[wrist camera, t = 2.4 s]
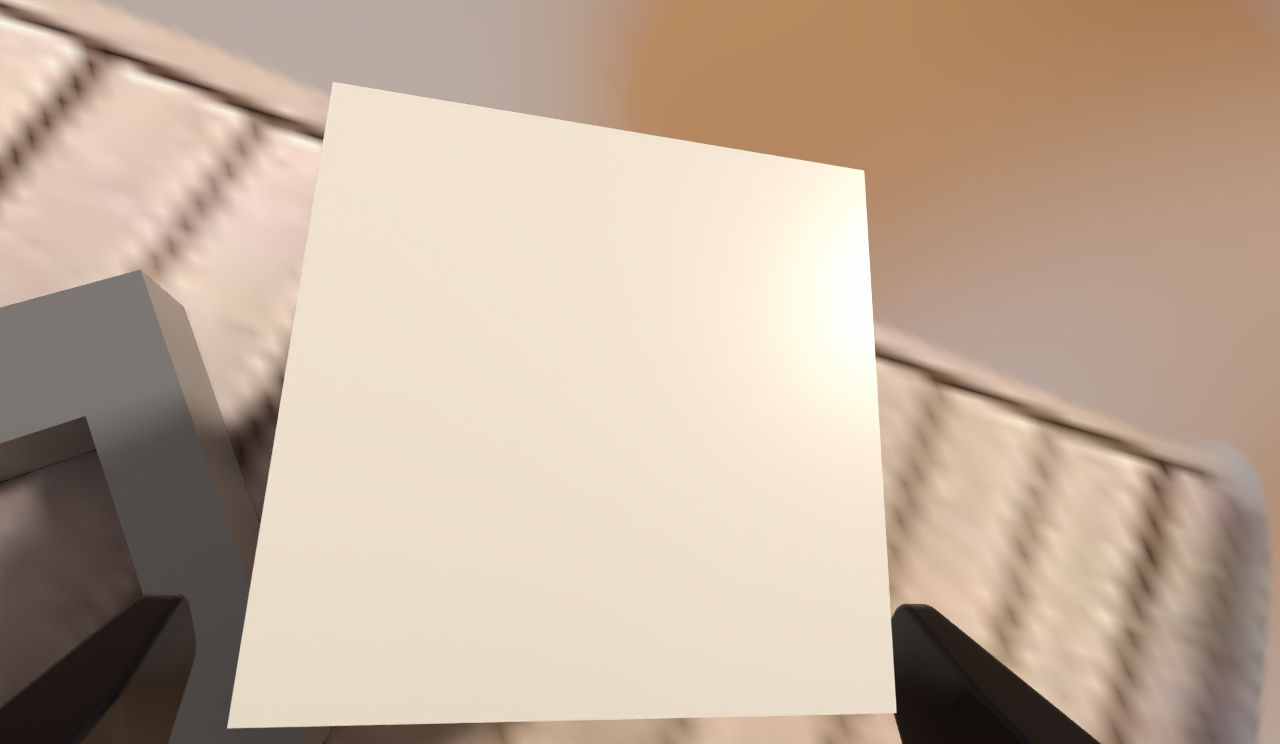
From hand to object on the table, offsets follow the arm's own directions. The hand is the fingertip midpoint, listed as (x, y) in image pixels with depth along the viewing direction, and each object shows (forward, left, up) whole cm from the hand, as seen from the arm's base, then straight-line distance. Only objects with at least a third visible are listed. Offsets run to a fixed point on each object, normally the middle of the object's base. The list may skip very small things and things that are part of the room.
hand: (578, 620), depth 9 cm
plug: (+3, -1, -10) cm, 10 cm away
